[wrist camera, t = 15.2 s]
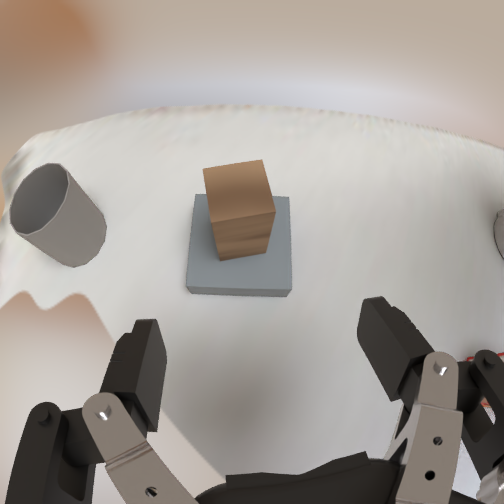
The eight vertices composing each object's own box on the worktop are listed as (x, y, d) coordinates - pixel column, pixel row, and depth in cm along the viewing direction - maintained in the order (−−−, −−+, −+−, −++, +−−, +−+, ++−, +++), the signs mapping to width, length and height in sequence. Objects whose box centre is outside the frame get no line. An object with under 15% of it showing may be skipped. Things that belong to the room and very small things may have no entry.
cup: (60, 209, 33) (22, 169, 24) (110, 203, 34) (77, 156, 24) (49, 268, 31) (1, 238, 21) (101, 266, 31) (58, 232, 22)
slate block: (199, 211, 34) (195, 194, 31) (284, 214, 35) (289, 196, 31) (192, 294, 31) (185, 286, 27) (285, 297, 31) (291, 289, 27)
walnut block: (213, 219, 30) (202, 168, 21) (256, 211, 30) (262, 159, 21) (220, 261, 28) (211, 222, 20) (266, 252, 29) (276, 211, 20)
